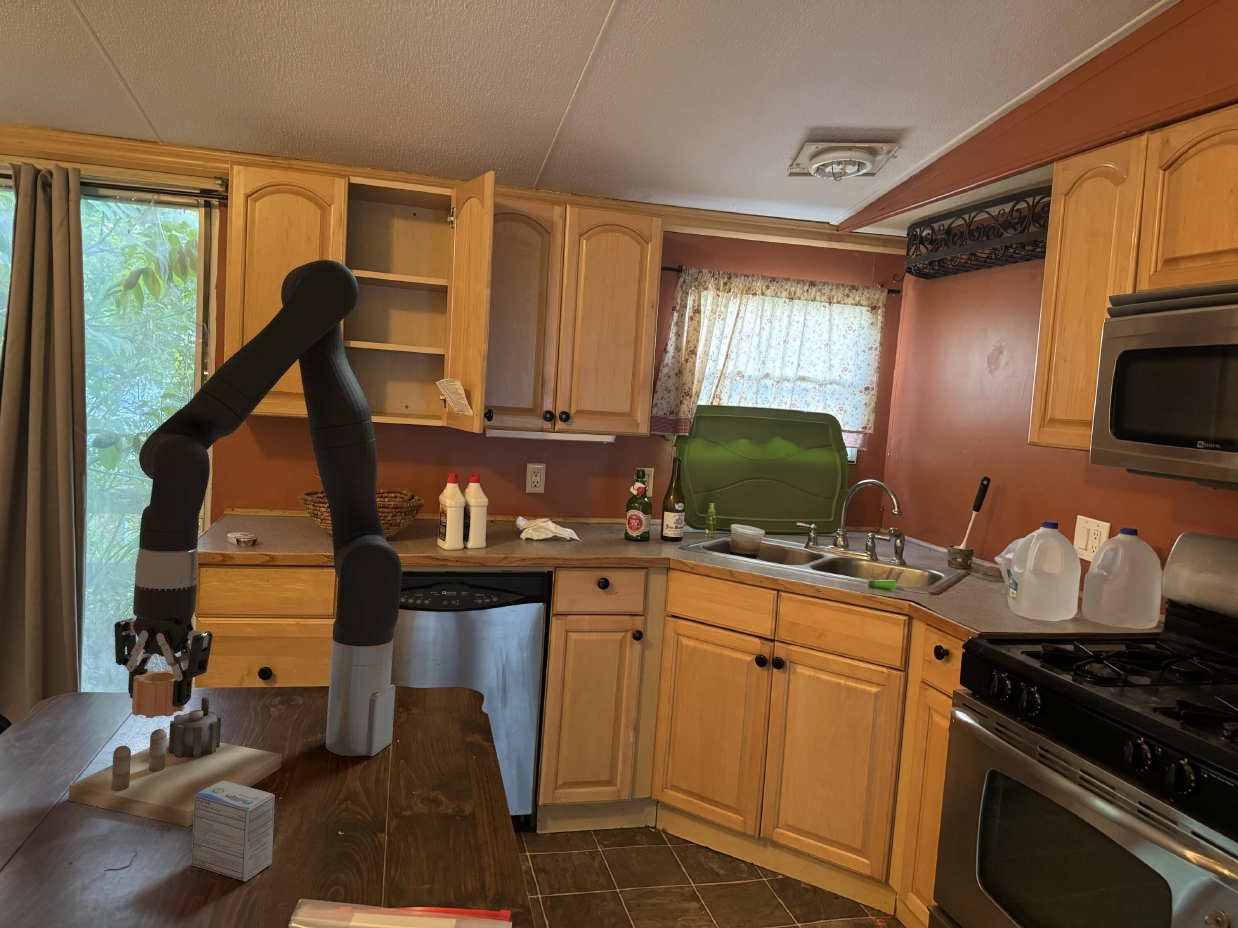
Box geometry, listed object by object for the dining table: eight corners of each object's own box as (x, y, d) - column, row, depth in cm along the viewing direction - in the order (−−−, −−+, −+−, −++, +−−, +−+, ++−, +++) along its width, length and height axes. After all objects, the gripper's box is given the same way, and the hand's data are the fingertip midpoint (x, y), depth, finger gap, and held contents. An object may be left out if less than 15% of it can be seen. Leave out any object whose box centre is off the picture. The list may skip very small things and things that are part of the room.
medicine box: (272, 865, 100) (277, 793, 99) (244, 884, 95) (248, 808, 95) (219, 848, 102) (223, 778, 101) (189, 866, 98) (193, 793, 97)
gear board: (281, 767, 125) (284, 707, 124) (187, 826, 106) (191, 756, 106) (175, 746, 129) (178, 688, 128) (68, 800, 110) (71, 732, 110)
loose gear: (194, 705, 119) (196, 674, 119) (160, 720, 113) (162, 687, 112) (156, 698, 120) (158, 667, 120) (120, 712, 114) (122, 679, 114)
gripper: (231, 582, 117) (223, 701, 118) (143, 569, 121) (136, 684, 122) (192, 592, 110) (183, 719, 111) (99, 577, 113) (92, 700, 114)
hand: (158, 700), depth 116 cm, fingers closed on loose gear, 6 cm apart
